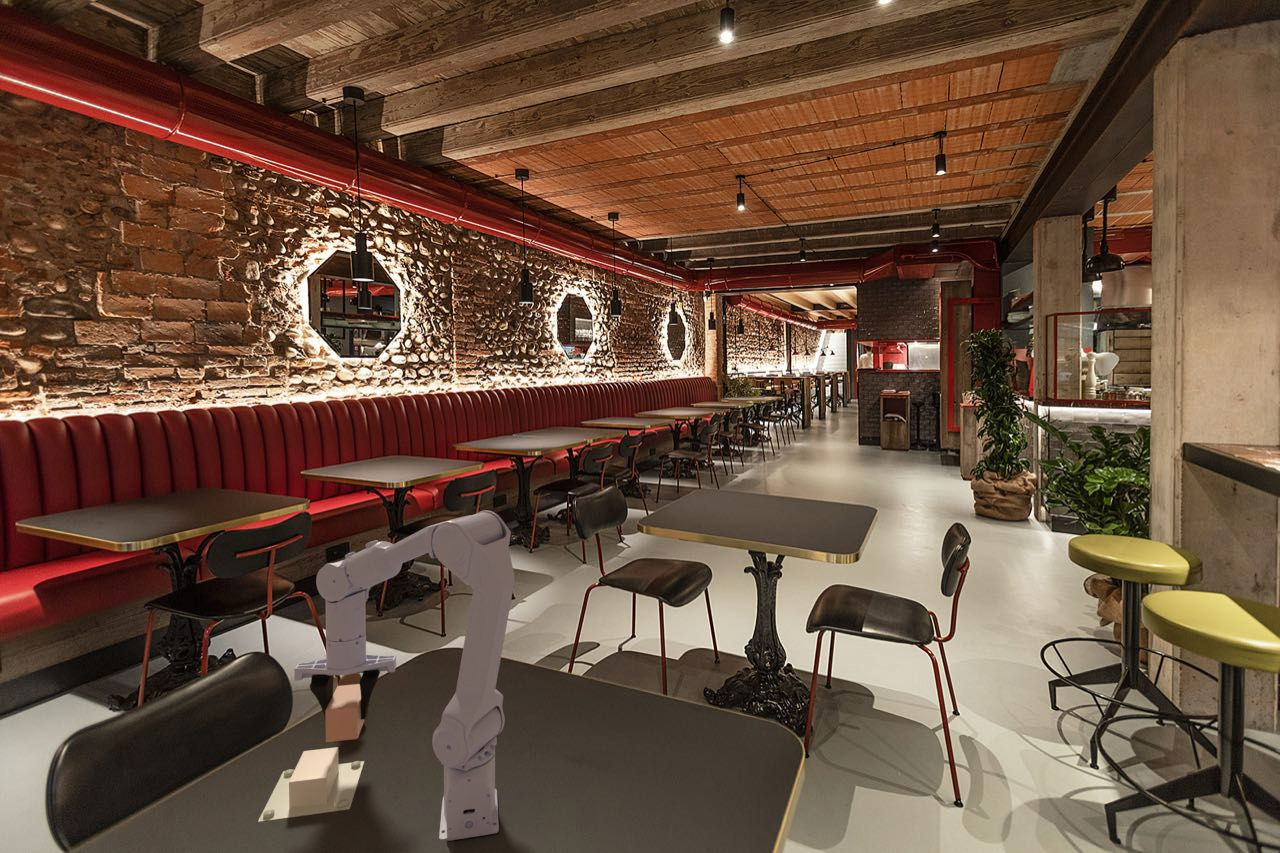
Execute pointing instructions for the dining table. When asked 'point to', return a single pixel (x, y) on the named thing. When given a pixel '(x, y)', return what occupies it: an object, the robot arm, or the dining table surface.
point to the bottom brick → (313, 778)
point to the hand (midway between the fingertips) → (347, 718)
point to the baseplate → (336, 802)
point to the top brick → (344, 714)
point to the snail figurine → (347, 680)
